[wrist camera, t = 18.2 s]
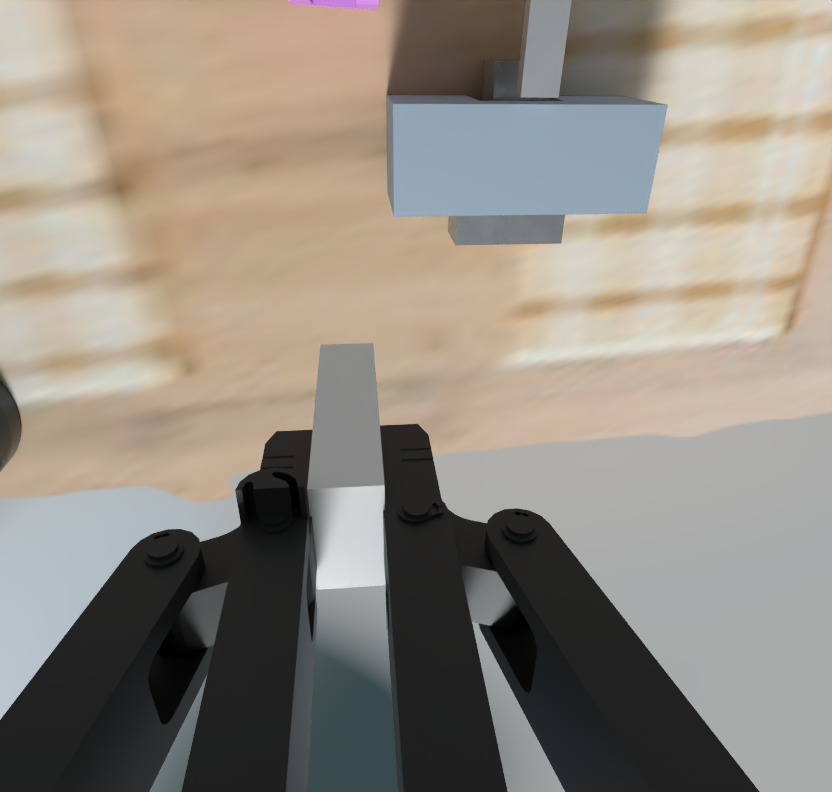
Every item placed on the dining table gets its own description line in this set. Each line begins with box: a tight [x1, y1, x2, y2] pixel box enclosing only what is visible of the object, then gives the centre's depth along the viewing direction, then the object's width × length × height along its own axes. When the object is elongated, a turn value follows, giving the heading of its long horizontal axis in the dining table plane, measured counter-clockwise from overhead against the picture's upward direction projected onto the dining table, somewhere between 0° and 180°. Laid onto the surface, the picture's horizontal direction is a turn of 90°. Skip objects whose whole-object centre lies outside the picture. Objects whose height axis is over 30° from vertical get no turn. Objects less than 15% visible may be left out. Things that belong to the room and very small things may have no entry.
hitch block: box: [387, 95, 668, 217], centre depth 44 cm, size 18×7×8 cm, turn 89°
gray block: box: [448, 60, 565, 245], centre depth 46 cm, size 8×12×4 cm
